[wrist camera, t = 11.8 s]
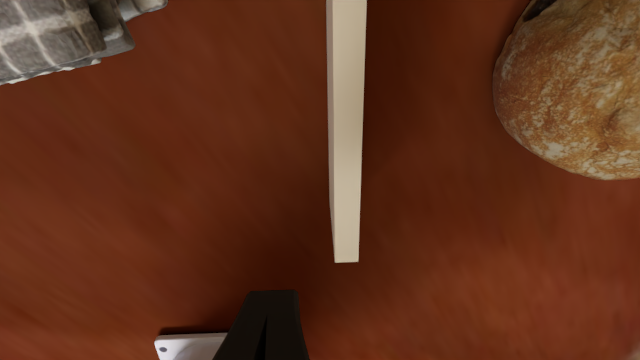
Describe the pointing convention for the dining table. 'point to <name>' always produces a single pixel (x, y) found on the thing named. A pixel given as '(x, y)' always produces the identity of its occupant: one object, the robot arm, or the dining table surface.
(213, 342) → the robot arm
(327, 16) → the box
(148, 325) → the dining table surface
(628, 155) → the bread roll
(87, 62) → the towel
